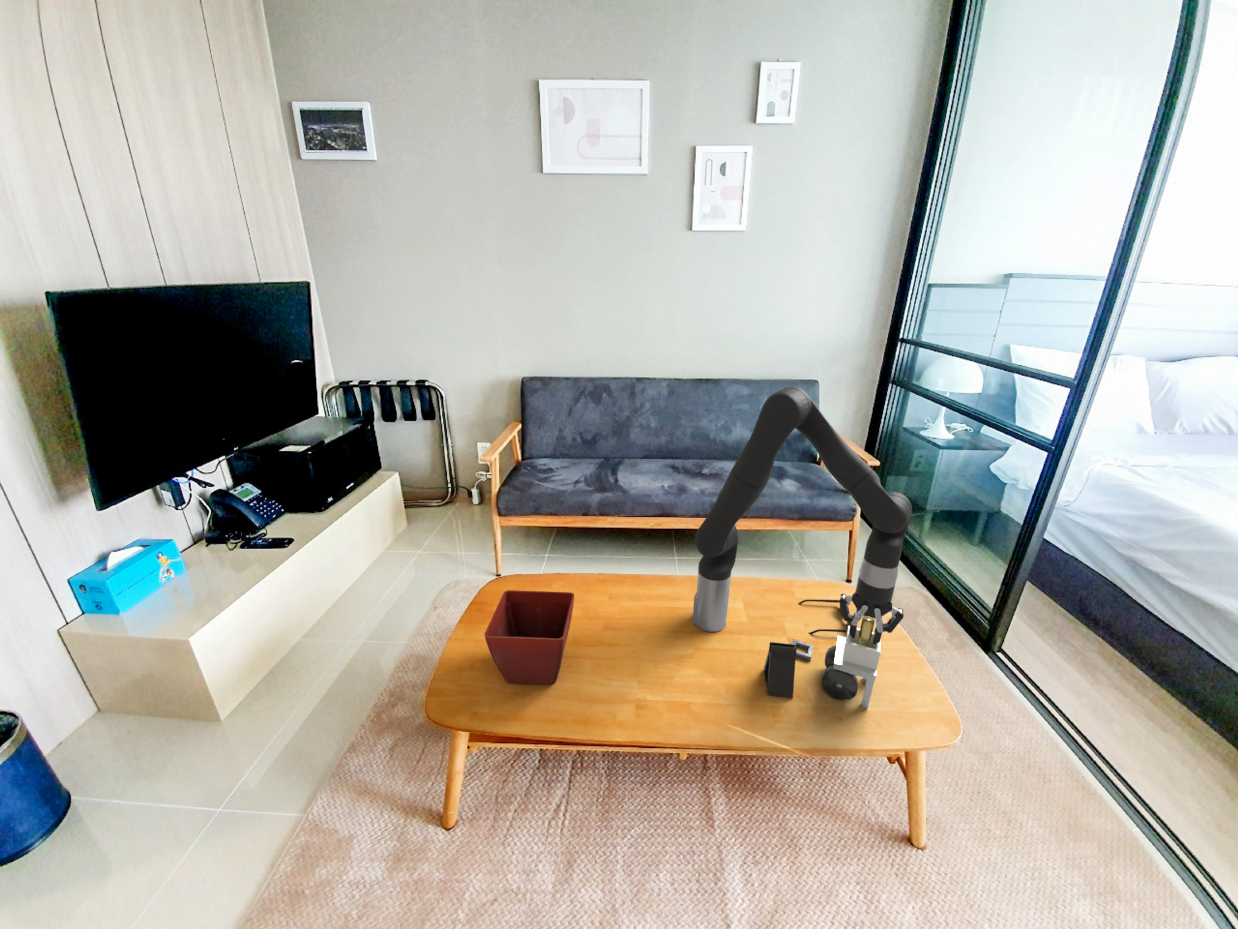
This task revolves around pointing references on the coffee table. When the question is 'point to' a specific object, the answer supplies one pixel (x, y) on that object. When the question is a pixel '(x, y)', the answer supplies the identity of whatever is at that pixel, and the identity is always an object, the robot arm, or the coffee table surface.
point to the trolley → (845, 675)
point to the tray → (861, 651)
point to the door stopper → (780, 669)
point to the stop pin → (866, 631)
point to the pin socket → (804, 646)
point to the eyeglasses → (827, 629)
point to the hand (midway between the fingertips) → (863, 638)
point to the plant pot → (530, 635)
